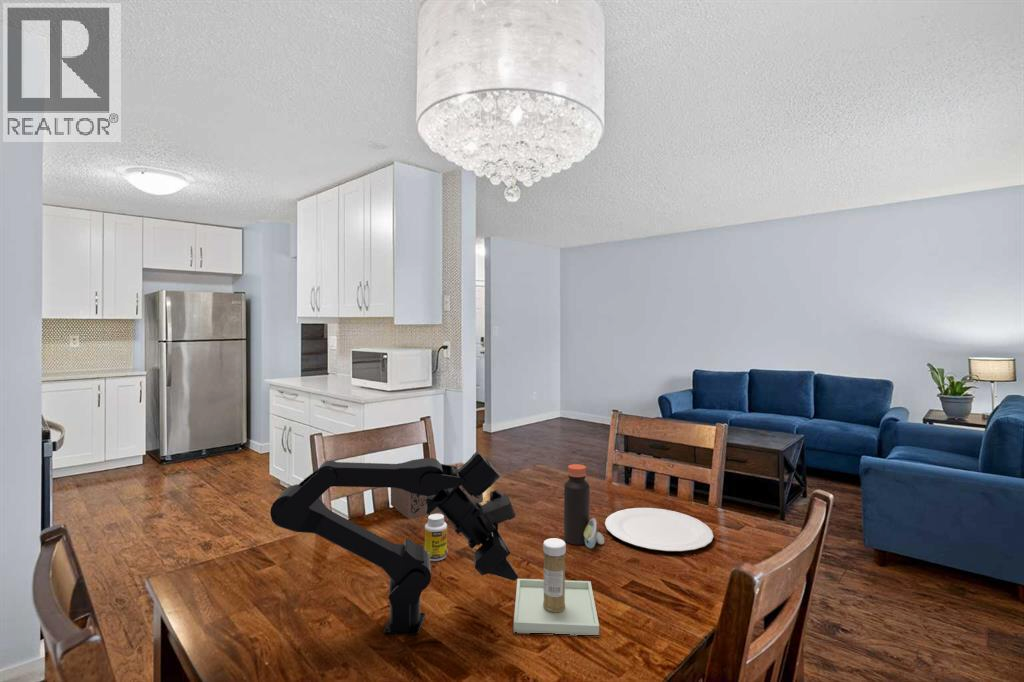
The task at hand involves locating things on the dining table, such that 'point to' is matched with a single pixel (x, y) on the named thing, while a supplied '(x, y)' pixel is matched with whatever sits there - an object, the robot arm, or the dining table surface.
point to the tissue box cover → (419, 501)
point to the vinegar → (576, 505)
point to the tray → (571, 620)
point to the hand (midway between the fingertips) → (512, 566)
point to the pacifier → (592, 534)
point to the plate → (659, 529)
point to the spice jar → (554, 574)
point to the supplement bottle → (436, 537)
